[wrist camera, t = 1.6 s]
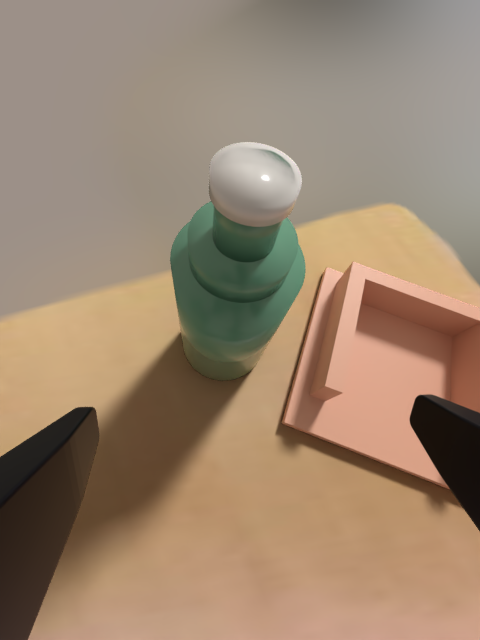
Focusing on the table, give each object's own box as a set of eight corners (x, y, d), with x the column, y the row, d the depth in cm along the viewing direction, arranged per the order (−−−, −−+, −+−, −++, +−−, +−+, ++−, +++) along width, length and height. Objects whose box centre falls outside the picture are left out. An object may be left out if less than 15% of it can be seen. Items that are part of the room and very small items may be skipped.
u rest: (473, 498, 20) (528, 506, 17) (281, 423, 21) (297, 416, 17) (471, 326, 26) (511, 307, 23) (323, 272, 27) (341, 245, 23)
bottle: (221, 398, 21) (257, 290, 8) (166, 337, 22) (114, 156, 9) (278, 344, 23) (385, 187, 10) (225, 292, 25) (255, 94, 11)
